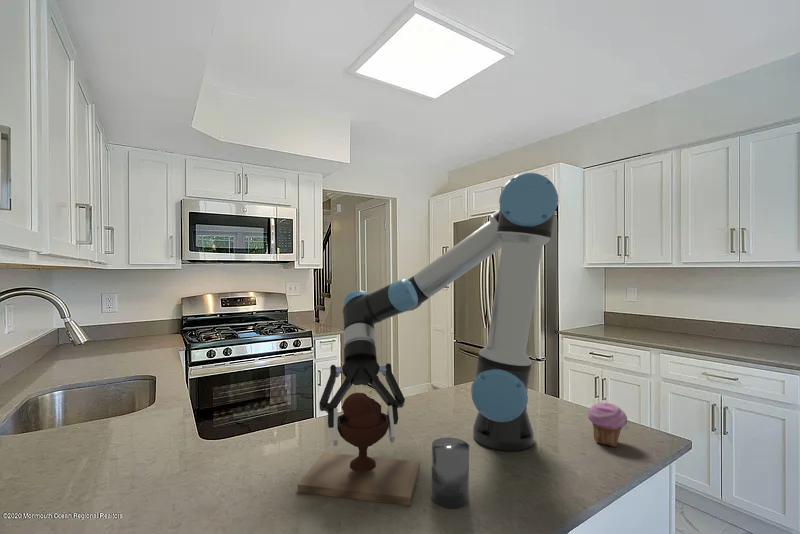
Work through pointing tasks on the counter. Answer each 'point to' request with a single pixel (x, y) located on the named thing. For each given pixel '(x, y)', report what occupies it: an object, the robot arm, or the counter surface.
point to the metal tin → (450, 473)
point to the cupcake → (607, 422)
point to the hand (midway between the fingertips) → (364, 441)
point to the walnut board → (362, 479)
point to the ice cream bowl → (362, 427)
